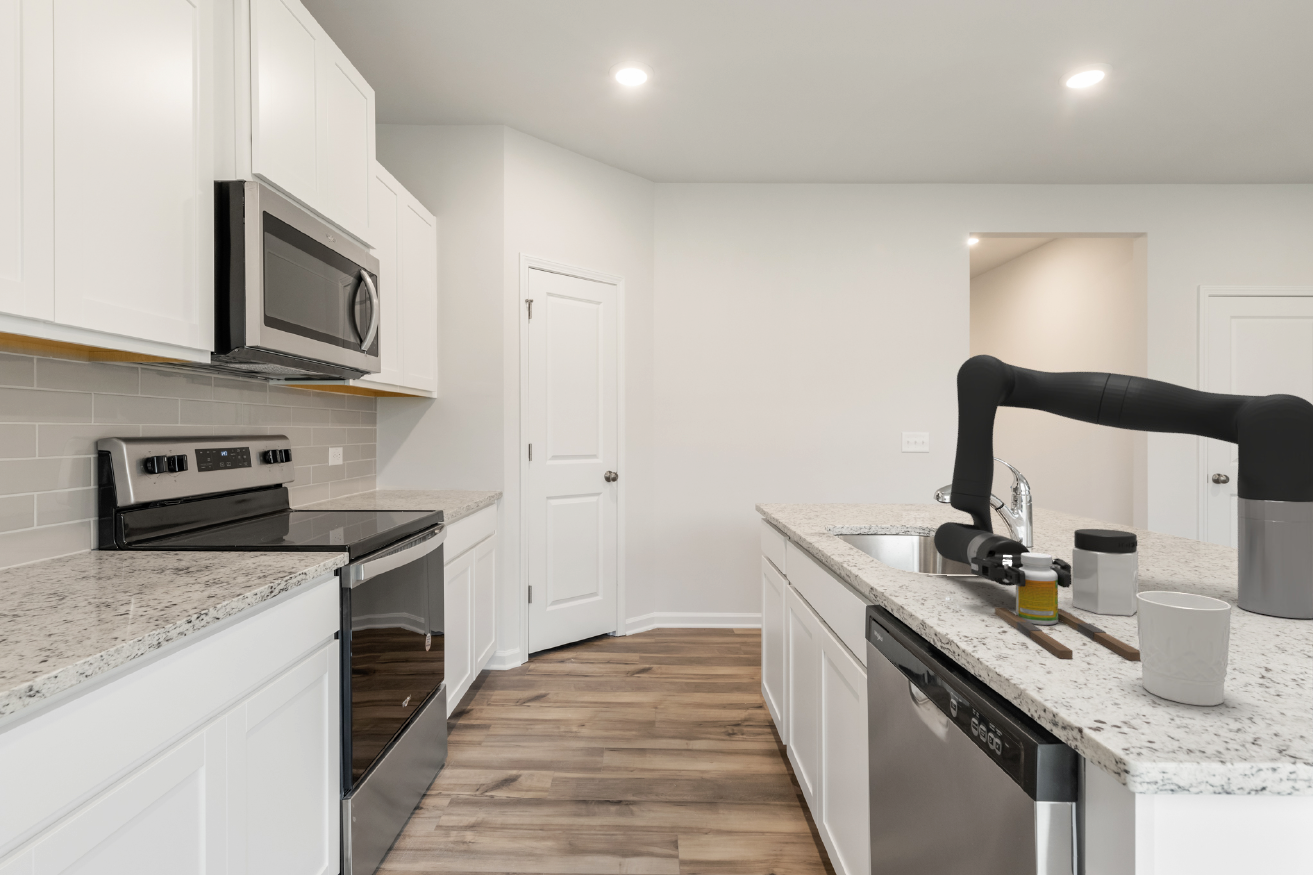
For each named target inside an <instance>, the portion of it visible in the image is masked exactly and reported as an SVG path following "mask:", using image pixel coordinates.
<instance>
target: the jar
mask: <svg viewBox="0 0 1313 875" xmlns="http://www.w3.org/2000/svg"><path fill="white" fill-rule="evenodd" d="M1073 537H1074V541H1073V542H1074V547H1072V549H1071V550H1072V607H1073V608H1077V609H1080V610H1083V611H1087V612H1091V613H1094V614H1097V615H1106V616H1107V615H1108V616H1109V615H1110V616H1111V615H1112V616H1124V617H1132V616H1133V615H1134V614H1135V613H1137V604H1136V594H1137V593H1139V550H1138V540H1137V539H1138V537H1137V534H1136V533H1133V532H1129V531H1124V530H1116V529H1106V528H1105V529H1102V528H1081V529H1075V530H1074V533H1073Z"/></svg>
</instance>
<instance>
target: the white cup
mask: <svg viewBox="0 0 1313 875" xmlns="http://www.w3.org/2000/svg"><path fill="white" fill-rule="evenodd" d="M1136 604H1137V611H1136V616H1137V617H1136V618H1137V619H1136V620H1137V636H1138V647H1139V651H1140V660H1141V661H1140V662H1141V673H1142V674H1141V676H1142V687H1143V689H1145V690H1146V691H1147V692H1148V693H1151V694H1152V695H1155V696H1157V697H1159V698H1161V699H1165V700H1169V701H1172V702H1176V703H1178V704H1179V703H1181V704H1187V705H1191V706H1192V705H1193V706H1204V707H1205V706H1207V707H1208V706H1210V707H1212V706H1217V705H1221V704H1223V703H1224V698H1225V697H1224V696H1225V695H1224V694H1225V682H1226V679H1225V678H1226V677H1227V675H1228V670H1227V669H1228V663H1229V651H1230V650H1229V648H1230V637H1231V636H1230V633H1231V631H1230V630H1231V618H1232V617H1231V615H1232V605H1231V604H1230V603H1228V602H1226V601H1224V600H1221V599H1218V598H1214V597H1210V596H1206V595H1200V594H1194V593H1193V594H1192V593H1187V592H1179V591H1169V590H1168V591H1164V590H1148V591H1147V590H1146V591H1140V592H1138V593H1137V594H1136Z"/></svg>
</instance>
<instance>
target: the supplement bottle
mask: <svg viewBox="0 0 1313 875" xmlns="http://www.w3.org/2000/svg"><path fill="white" fill-rule="evenodd" d="M1052 560H1053V556H1052V555H1050V554H1047V553H1040V552H1030V553H1022V554H1021V563H1022V564H1023V567H1021V568H1019V569H1020V570H1022V571H1024V572H1025V587H1019V586H1017V585H1015V614H1016V615H1017V616H1019V617H1021V618H1022V619H1024V620H1025V621H1027V622H1030V623H1031V624H1033V625H1036V626H1038V625H1041V626H1051V625H1052V626H1053V625H1055V624H1057V623H1058V622H1059V620H1058V609H1059V585H1058V575H1057V573H1056V572H1055V571H1054V570H1051V569H1050V566H1052Z"/></svg>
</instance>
